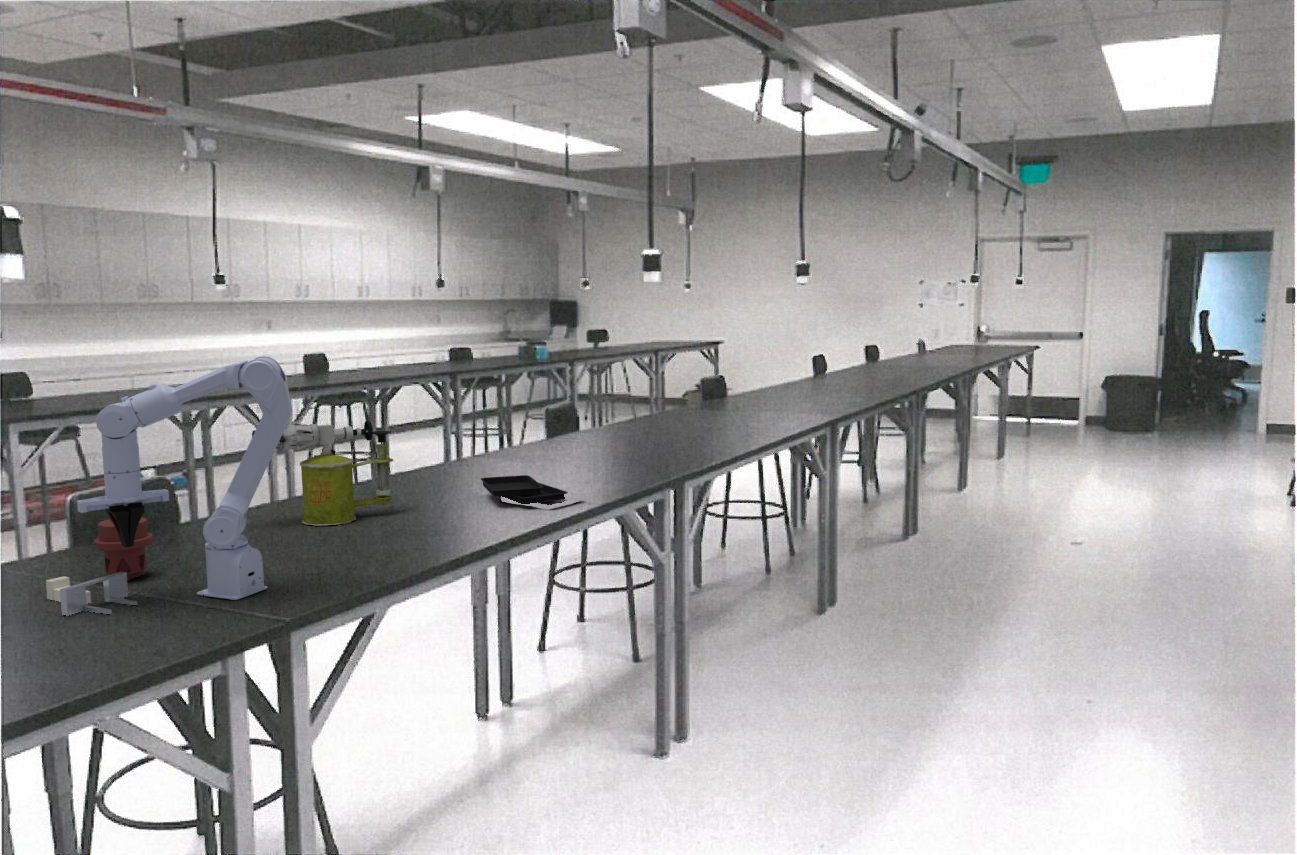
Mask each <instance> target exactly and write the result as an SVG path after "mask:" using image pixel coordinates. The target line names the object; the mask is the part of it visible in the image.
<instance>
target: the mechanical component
mask: <svg viewBox="0 0 1297 855" xmlns="http://www.w3.org/2000/svg"><path fill="white" fill-rule="evenodd" d="M97 528H98V537H97V538H95V540H94V541H93V542H94V549H96V550H98V551H100V552H104V553H103V554H104V566H105V567H104V569H105V573H106V575H111V574H114V573H117V572H126V573H127V581H128V580H129V581H131V580H133V579H135V578H134V577H136V576H139V577H141V576H140V575H143V576H144V575H145V574H146V572H145V570H146V569H147V558H146V557H147V556H146V547H148V546H150V545H152V543H153V542H154V535H153V534H152V533H151V532H148V530H149V529H148V519H147V517H146V518H145V517H141V519H140V522H139V524H138V527H137V530H136V534H135V539H134V546H131V547H123V546H122V545H121V541H120V537H119V535H118V532H117V530H116V528H115V526H114V524H113V522H112V520H111V519H110V518H109V519H105V520H103V521H102V520H101V521H100V522H99V523H97ZM132 578H133V579H132ZM136 578H137V577H136ZM130 579H131V580H130ZM129 581H128V582H129Z"/></svg>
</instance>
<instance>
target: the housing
mask: <svg viewBox="0 0 1297 855" xmlns="http://www.w3.org/2000/svg"><path fill="white" fill-rule="evenodd" d="M98 583H102V584H103V597H104V602H105V601H106V602H105V603H110V602H116V603H122V604H121V605H123V604H129V605H128V606H130V605H137V606H138V600H133V599H127V598H128V597H129V590H128V582H127V573H126V572H117V573H114V574H111V575H110V574H106V575H105V576H101V577H97V578H93V579H90V580H87V581H83V582H80V583H76V584H73V585H70V586H69V587H66V588H63V589H60V598H61V603H60V606H61V607H60V608H61V609H60V610H61V616H63V615H66V616H65V617H70V616H73V615H76V614H75V613H77V614H79V613H78V612H80V613H82V612H81V611H83V612H87V611H89V612H88V613H93V612H95V614H100V613H103V614H102V615H106V614H110V615H112V614H111V613H113V612H112V608H111V609H110V608H104V607H99V606H92V605H88V604H87V601H86V587H89V586H93V585H95V584H98ZM127 596H128V597H127ZM124 597H126V598H124ZM121 598H123V599H121ZM116 603H115V604H116ZM72 614H73V615H72ZM69 615H70V616H69Z"/></svg>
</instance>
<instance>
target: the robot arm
mask: <svg viewBox="0 0 1297 855" xmlns="http://www.w3.org/2000/svg"><path fill="white" fill-rule="evenodd" d="M288 383H289V382H288V377H287V374H286V373H285V371H284V370H283V368H282V367H281V364H280V363H279V362H278V361H277V360H276V359H274V358H272V357H270V356H265V355H263V356H258V357H255V358H253V359H251V360H244V361H239V362H235V363H231V364H228V365H224V366H222V367H219V368H218V369H216V370H213V371H210V372H207V373H206V374H204V375H201V376H199V377H196V378H194V379H192V380H190V381H187V382H185V383H182V384H181V385H178V386H176V387H174V386H170V385H167V384H160V385H158V384H157V383H154V384H151V385H149V386H147V390H145V391H141V392H140V393H138V394H134V395H133V396H130V397H129V396H128V395H126V396H124V397H121V398H120V400H121V402H117V403H113V404H108V405H107V406H105V407H104V408H102V409H101V410H100V411H99V413H98V414H97V416H96V420H95V424H96V427H97V429H98V431H99V432H100V433H101V446H102V447H101V451H102V452H101V454H102V466H103V469H102V470H103V480H104V490H105V491H104V492H105V493H104V494H105V495H101V496H95V497H91V498H84V499H80V500H79V499H78V500H76V506H77V512H79V513H81V514H85V513H88V512H93V511H98V510H99V511H100V510H104V511H105V513H106V514H107V516H108V517H109V519H111V520H112V522H113V524H114V526H115V528H116V530H117V532H118V535H119V537H120V541H121V545H122V546H123V547H131V546H134V539H135V534H136V530H137V527H138V524H139V522H140V519H141V517H142V516H143V515H144V513H145V512H146V511H145V506H144V505H145V504H150V503H156V502H169V501H170V493H169V492H170V491H169V490H168V489H165V488H163V489H154V490H142V480H141V479H142V477H141V463H140V451H139V450H140V448H139V443H138V432H137V429H139V428H145V427H147V426H151V425H153V424H155V423H158V422H160V421H163V420H165V419H168V418H170V417H172V416H174V415H178V414H179V413H180V410H181V406H182V405H183V404H185V403H187V402H190V401H192V400H194V399H198V398H200V397H202V396H205V395H208V394H211V393H212V392H216V391H218V390H221V389H225V388H227V389H233V390H241V389H242V388H244V389H245V390H247V391H248V393H249V394H250V395H251V396H252V397H253V398H255V401H256V403H257V405H258V406H259V409H260V411H261V413H262V416H261V419H260V420H259V422H258V424H257V426H256V429H255V430H256V431H255V430H254V431H255V433H254V435H253V437H252V436H251V440H250V442H249V443H248V446H247V447H246V448H247V449H246V450H245V452H244V454H243V456H242V458H241V460H240V463H239V465H238V466H237V469H236V471H235V474H234V476H233V478H232V480H231V482H230V484H229V486H228V488H227V490H226V492H225V494H224V497H223V498H222V500H221V502H220V504H219V506H218V507H216V508H215V510H214V511H213V512H212V513H211V515H210V517H209V518H208V519H206V521H205V522H204V524H203V527H202V533H203V538H204V539H205V541H206V542H205V544H204V547H205V548H204V549H205V563H206V567H205V568H206V576H207V577H206V578H207V580H206V581H207V582H206V583H207V588H205V589H202V590H200V591H197V592H196V595H197V596H203V595H204V596H203V597H210V598H211V597H212V598H218V599H225V600H226V599H227V600H232V601H237V600H241V599H243V598H247V597H248V596H251V595H254V594H257V593H260V592H261V591H264V590H267V589H268V586H267V585H265V583H264V582H265V581H264V580H265V579H264V578H265V577H264V564H263V555H262V554H261V552H260V550H259V549H258V548H255V547H252V546H251V545H250V544H249V542H248V538H247V537H246V536H245V534H244V533H242V532H243V531H244V530H245V529H246V527H247V526H246V525H247V522H248V520H247V513H248V509H249V507H250V505H251V503H252V499H253V498H254V496H255V494H256V491H257V489H258V487H259V485H260V483H261V480H262V479H263V476H264V474H265V472H266V470H267V468H268V465H269V464H270V462H271V460H272V457H273V455H274V453H275V451H276V450H277V449H276V447H277V445H278V443H280V442H279V440H280V438H281V436H282V434H283V432H284V430H285V428H286V426H287V425H288V423H289V421H290V419H291V417H292V415H293V414H292V413H293V405H292V401H291V395H290V391H289V386H288V385H289V384H288Z"/></svg>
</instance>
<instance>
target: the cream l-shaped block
mask: <svg viewBox="0 0 1297 855" xmlns="http://www.w3.org/2000/svg"><path fill="white" fill-rule="evenodd" d="M69 586H71V581H70V577H68V576H65V575H64V576H59V577H56V578H50V579H47V580H46V579H45V588H46V599H50V600H55V601H54V602H56V601H59V602H61V598H60V589H63V588H66V587H69ZM50 600H49V601H50ZM86 601H87V605H89V604H88V603H90V604H92V594H91V590H86ZM59 602H58V603H59Z"/></svg>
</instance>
